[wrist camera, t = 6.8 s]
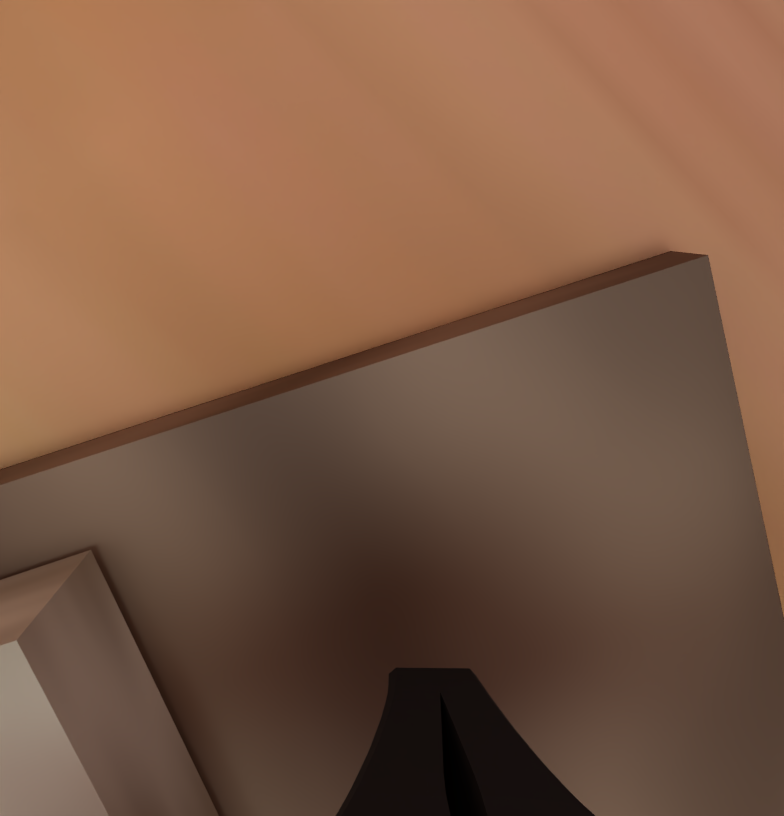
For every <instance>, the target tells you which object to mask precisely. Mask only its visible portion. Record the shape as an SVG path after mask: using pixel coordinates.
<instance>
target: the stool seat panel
mask: <svg viewBox="0 0 784 816" xmlns="http://www.w3.org/2000/svg"><path fill="white" fill-rule="evenodd" d="M89 550H91V551H92V553H93V555H94V557H95V559H96V561H97V564H98V566H99V568H100V570H101V572H102V574H103V576H104V578H105V580H106V582H107V584H108V586H109V588H110V591H111V593H112V595H113V597H114V599H115V601H116V603H117V605H118V607H119V609H120V611H121V613H122V615H123V618H124V620H125V622H126V624H127V626H128V628H129V630H130V632H131V634H132V636H133V638H134V640H135V643H136V645H137V647H138V649H139V651H140V653H141V655H142V657H143V659H144V661H145V663H146V665H147V667H148V670H149V672H150V674H151V676H152V678H153V680H154V682H155V684H156V686H157V688H158V690H159V692H160V695H161V697H162V699H163V701H164V703H165V705H166V707H167V709H168V711H169V713H170V715H171V717H172V719H173V722H174V724H175V726H176V728H177V730H178V732H179V734H180V736H181V738H182V740H183V742H184V744H185V746H186V749H187V751H188V753H189V755H190V757H191V759H192V761H193V763H194V765H195V767H196V769H197V771H198V774H199V776H200V778H201V780H202V782H203V784H204V786H205V788H206V790H207V792H208V794H209V796H210V798H211V801H212V803H213V805H214V807H215V809H216V811H217V813H218V815H219V816H336V814H337V813H338V811H339V809H340V807H341V806H342V804H343V802H344V800H345V799H346V797H347V795H348V793H349V791H350V789H351V787H352V785H353V783H354V781H355V779H356V777H357V775H358V773H359V771H360V769H361V766H362V764H363V762H364V760H365V758H366V756H367V754H368V751H369V749H370V747H371V744H372V741H373V739H374V736H375V733H376V730H377V728H378V725H379V722H380V720H381V716H382V713H383V709H384V706H385V702H386V698H387V693H388V678H389V673H390V672H391V671H392V670H394V669H395V668H470V669H471V670H472V671H473V673H474V674H475V675H476V676H477V678H478V679H479V681H480V682H481V683H482V685H483V686H484V688H485V689H486V691H487V692H488V693H489V695H490V696H491V698H492V699H493V700H494V702H495V703H496V705H497V706H498V707H499V709H500V710H501V711H502V713H503V714H504V715H505V717H506V718H507V719H508V721H509V722H510V723H511V724H512V726H513V727H514V728H515V730H516V731H517V732H518V733H519V734H520V736H521V737H522V738H523V739H524V740H525V742H526V743H527V744H528V745H529V747H530V748H531V749H532V750H533V751H534V753H535V754H536V755H537V756H538V757H539V758H540V760H541V761H542V762H543V763H544V764H545V765H546V766H547V768H548V769H549V770H550V771H551V772H552V773H553V774H554V775H555V776H556V777H557V778H558V779H559V780H560V782H561V783H562V784H563V785H564V786H565V787H566V788H567V789H568V790H569V791H570V792H571V793H572V794H573V795H574V796H575V797H576V798H577V799H578V800H579V801H580V802H581V803H582V804H583V805H584V806H585V807H586V808H587V809H589V810H590V811H591V812H592V813H593V814H594V815H595V816H784V617H783V612H782V607H781V603H780V598H779V593H778V588H777V584H776V579H775V574H774V569H773V564H772V560H771V555H770V550H769V545H768V540H767V536H766V531H765V526H764V521H763V516H762V512H761V507H760V502H759V497H758V493H757V488H756V483H755V478H754V473H753V469H752V464H751V459H750V454H749V449H748V445H747V440H746V435H745V430H744V426H743V421H742V416H741V411H740V406H739V402H738V397H737V392H736V387H735V382H734V378H733V373H732V368H731V363H730V358H729V354H728V349H727V344H726V339H725V335H724V330H723V325H722V320H721V315H720V311H719V306H718V301H717V296H716V291H715V287H714V282H713V277H712V272H711V267H710V263H709V258H708V255H702V254H692V253H682V252H672V251H670V252H667V253H664V254H661V255H658V256H655V257H652V258H649V259H646V260H643V261H640V262H637V263H633V264H630V265H627V266H624V267H621V268H618V269H615V270H612V271H609V272H606V273H603V274H600V275H597V276H594V277H591V278H587V279H584V280H581V281H578V282H575V283H572V284H569V285H566V286H563V287H560V288H557V289H554V290H551V291H548V292H545V293H541V294H538V295H535V296H532V297H529V298H526V299H523V300H520V301H517V302H514V303H511V304H508V305H505V306H502V307H498V308H495V309H492V310H489V311H486V312H483V313H480V314H477V315H474V316H471V317H468V318H465V319H462V320H459V321H456V322H452V323H449V324H446V325H443V326H440V327H437V328H434V329H431V330H428V331H425V332H422V333H419V334H416V335H413V336H409V337H406V338H403V339H400V340H397V341H394V342H391V343H388V344H385V345H382V346H379V347H376V348H373V349H370V350H367V351H363V352H360V353H357V354H354V355H351V356H348V357H345V358H342V359H339V360H336V361H333V362H330V363H327V364H324V365H320V366H317V367H314V368H311V369H308V370H305V371H302V372H299V373H296V374H293V375H290V376H287V377H284V378H281V379H278V380H274V381H271V382H268V383H265V384H262V385H259V386H256V387H253V388H250V389H247V390H244V391H241V392H238V393H235V394H232V395H228V396H225V397H222V398H219V399H216V400H213V401H210V402H207V403H204V404H201V405H198V406H195V407H192V408H189V409H185V410H182V411H179V412H176V413H173V414H170V415H167V416H164V417H161V418H158V419H155V420H152V421H149V422H146V423H143V424H139V425H136V426H133V427H130V428H127V429H124V430H121V431H118V432H115V433H112V434H109V435H106V436H103V437H100V438H96V439H93V440H90V441H87V442H84V443H81V444H78V445H75V446H72V447H69V448H66V449H63V450H60V451H57V452H54V453H50V454H47V455H44V456H41V457H38V458H35V459H32V460H29V461H26V462H23V463H20V464H17V465H14V466H11V467H7V468H4V469H1V470H0V580H2V579H5V578H8V577H11V576H14V575H17V574H20V573H23V572H26V571H29V570H32V569H35V568H38V567H41V566H44V565H47V564H50V563H53V562H56V561H59V560H62V559H65V558H68V557H71V556H74V555H77V554H80V553H83V552H86V551H89Z"/></svg>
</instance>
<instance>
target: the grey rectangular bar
mask: <svg viewBox="0 0 784 816" xmlns="http://www.w3.org/2000/svg"><path fill="white" fill-rule="evenodd" d="M0 816H219V815H218V813H217V811H216V809H215V807H214V805H213V803H212V801H211V798H210V796H209V794H208V792H207V790H206V788H205V786H204V784H203V782H202V780H201V778H200V776H199V774H198V771H197V769H196V767H195V765H194V763H193V761H192V759H191V757H190V755H189V753H188V751H187V749H186V746H185V744H184V742H183V740H182V738H181V736H180V734H179V732H178V730H177V728H176V726H175V724H174V722H173V719H172V717H171V715H170V713H169V711H168V709H167V707H166V705H165V703H164V701H163V699H162V697H161V695H160V692H159V690H158V688H157V686H156V684H155V682H154V680H153V678H152V676H151V674H150V672H149V670H148V667H147V665H146V663H145V661H144V659H143V657H142V655H141V653H140V651H139V649H138V647H137V645H136V643H135V640H134V638H133V636H132V634H131V632H130V630H129V628H128V626H127V624H126V622H125V620H124V618H123V615H122V613H121V611H120V609H119V607H118V605H117V603H116V601H115V599H114V597H113V595H112V593H111V591H110V588H109V586H108V584H107V582H106V580H105V578H104V576H103V574H102V572H101V570H100V568H99V566H98V564H97V561H96V559H95V557H94V555H93V553H92V551H91V550H89V551H86V552H83V553H80V554H77V555H74V556H71V557H68V558H65V559H62V560H59V561H56V562H53V563H50V564H47V565H44V566H41V567H38V568H35V569H32V570H29V571H26V572H23V573H20V574H17V575H14V576H11V577H8V578H5V579H2V580H0Z"/></svg>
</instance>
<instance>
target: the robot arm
mask: <svg viewBox="0 0 784 816" xmlns="http://www.w3.org/2000/svg"><path fill="white" fill-rule="evenodd" d="M336 816H595V815H594V814H593V813H592V812H591V811H590V810H589V809H587V808H586V807H585V806H584V805H583V804H582V803H581V802H580V801H579V800H578V799H577V798H576V797H575V796H574V795H573V794H572V793H571V792H570V791H569V790H568V789H567V788H566V787H565V786H564V785H563V784H562V783H561V782H560V780H559V779H558V778H557V777H556V776H555V775H554V774H553V773H552V772H551V771H550V770H549V769H548V768H547V766H546V765H545V764H544V763H543V762H542V761H541V760H540V758H539V757H538V756H537V755H536V754H535V753H534V751H533V750H532V749H531V748H530V747H529V745H528V744H527V743H526V742H525V740H524V739H523V738H522V737H521V736H520V734H519V733H518V732H517V731H516V730H515V728H514V727H513V726H512V724H511V723H510V722H509V721H508V719H507V718H506V717H505V715H504V714H503V713H502V711H501V710H500V709H499V707H498V706H497V705H496V703H495V702H494V700H493V699H492V698H491V696H490V695H489V693H488V692H487V691H486V689H485V688H484V686H483V685H482V683H481V682H480V681H479V679H478V678H477V676H476V675H475V674H474V673H473V671H472V670H471V669H470V668H395V669H394V670H392V671H391V672H390V673H389V678H388V693H387V698H386V702H385V706H384V709H383V713H382V716H381V720H380V722H379V725H378V728H377V730H376V733H375V736H374V739H373V741H372V744H371V747H370V749H369V751H368V754H367V756H366V758H365V760H364V762H363V764H362V766H361V769H360V771H359V773H358V775H357V777H356V779H355V781H354V783H353V785H352V787H351V789H350V791H349V793H348V795H347V797H346V799H345V800H344V802H343V804H342V806H341V807H340V809H339V811H338V813H337V814H336Z"/></svg>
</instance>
